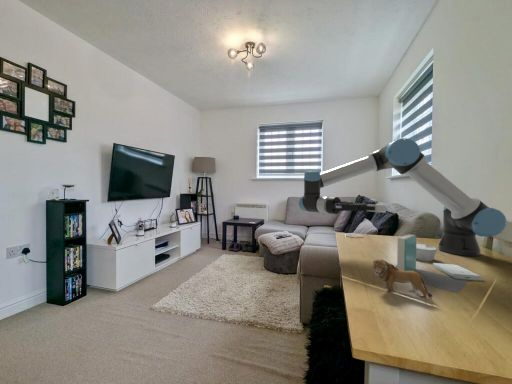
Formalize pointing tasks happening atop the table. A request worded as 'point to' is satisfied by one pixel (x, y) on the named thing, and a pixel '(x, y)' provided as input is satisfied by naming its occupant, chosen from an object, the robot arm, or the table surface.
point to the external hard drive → (457, 271)
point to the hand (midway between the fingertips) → (385, 209)
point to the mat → (442, 281)
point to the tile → (406, 253)
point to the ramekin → (425, 252)
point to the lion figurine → (399, 277)
